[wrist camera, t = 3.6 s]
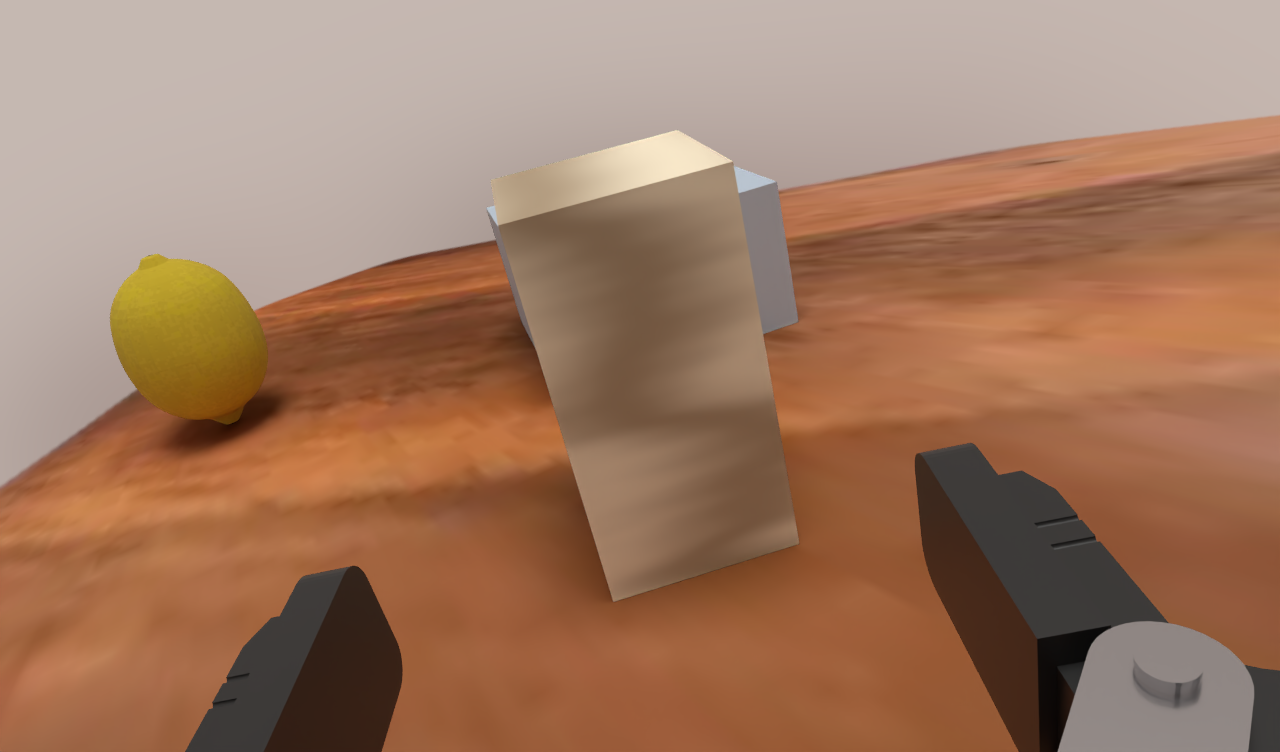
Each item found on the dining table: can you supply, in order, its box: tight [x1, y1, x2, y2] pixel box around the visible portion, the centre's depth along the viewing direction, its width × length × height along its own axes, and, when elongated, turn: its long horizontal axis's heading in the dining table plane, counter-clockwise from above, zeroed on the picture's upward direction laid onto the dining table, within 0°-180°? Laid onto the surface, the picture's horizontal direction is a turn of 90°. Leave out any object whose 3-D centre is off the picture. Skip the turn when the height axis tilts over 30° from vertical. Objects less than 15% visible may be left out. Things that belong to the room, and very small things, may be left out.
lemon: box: [110, 254, 268, 424], centre depth 36 cm, size 6×6×8 cm
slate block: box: [486, 166, 798, 349], centre depth 36 cm, size 10×10×6 cm
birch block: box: [491, 130, 799, 602], centre depth 21 cm, size 5×5×10 cm
